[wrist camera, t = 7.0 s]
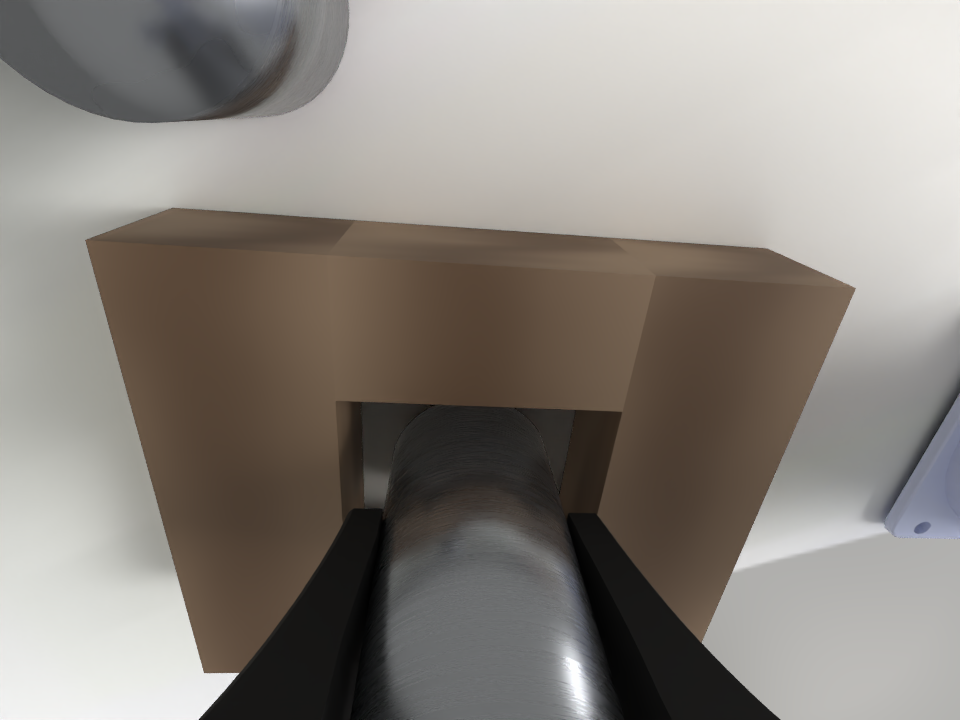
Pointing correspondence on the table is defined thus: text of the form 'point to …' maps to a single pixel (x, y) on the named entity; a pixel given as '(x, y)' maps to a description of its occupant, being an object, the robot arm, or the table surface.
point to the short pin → (176, 54)
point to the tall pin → (478, 583)
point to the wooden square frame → (448, 385)
